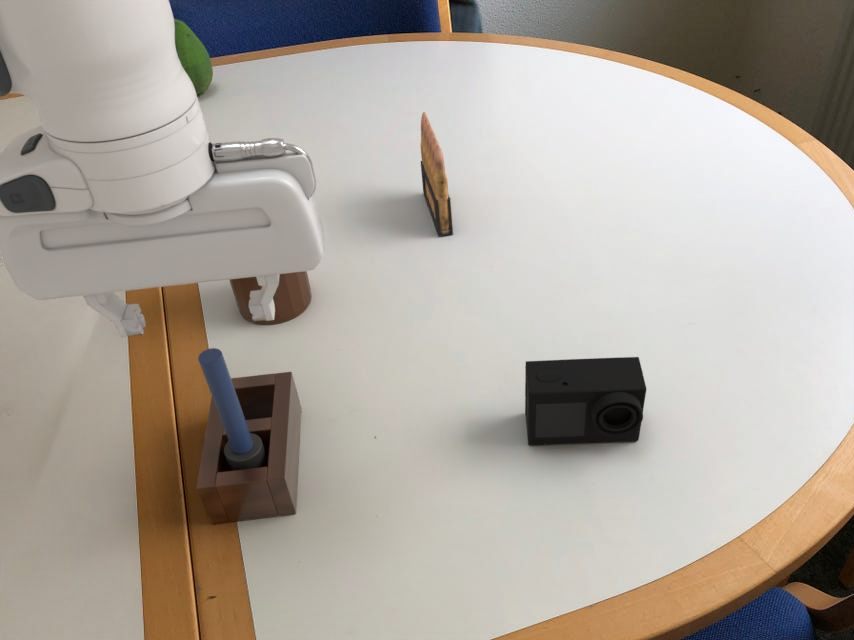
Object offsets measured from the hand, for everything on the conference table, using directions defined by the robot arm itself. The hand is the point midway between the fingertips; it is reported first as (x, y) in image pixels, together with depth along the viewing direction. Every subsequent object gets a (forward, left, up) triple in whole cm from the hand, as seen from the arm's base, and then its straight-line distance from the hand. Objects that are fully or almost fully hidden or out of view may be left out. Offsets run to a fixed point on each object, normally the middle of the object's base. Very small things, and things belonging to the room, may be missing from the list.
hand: (200, 323), depth 58 cm
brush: (0, 0, -19) cm, 19 cm away
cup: (0, +27, -19) cm, 33 cm away
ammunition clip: (+20, +42, -19) cm, 50 cm away
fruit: (-17, +86, -19) cm, 90 cm away
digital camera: (+30, +2, -19) cm, 36 cm away
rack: (0, +3, -19) cm, 19 cm away
